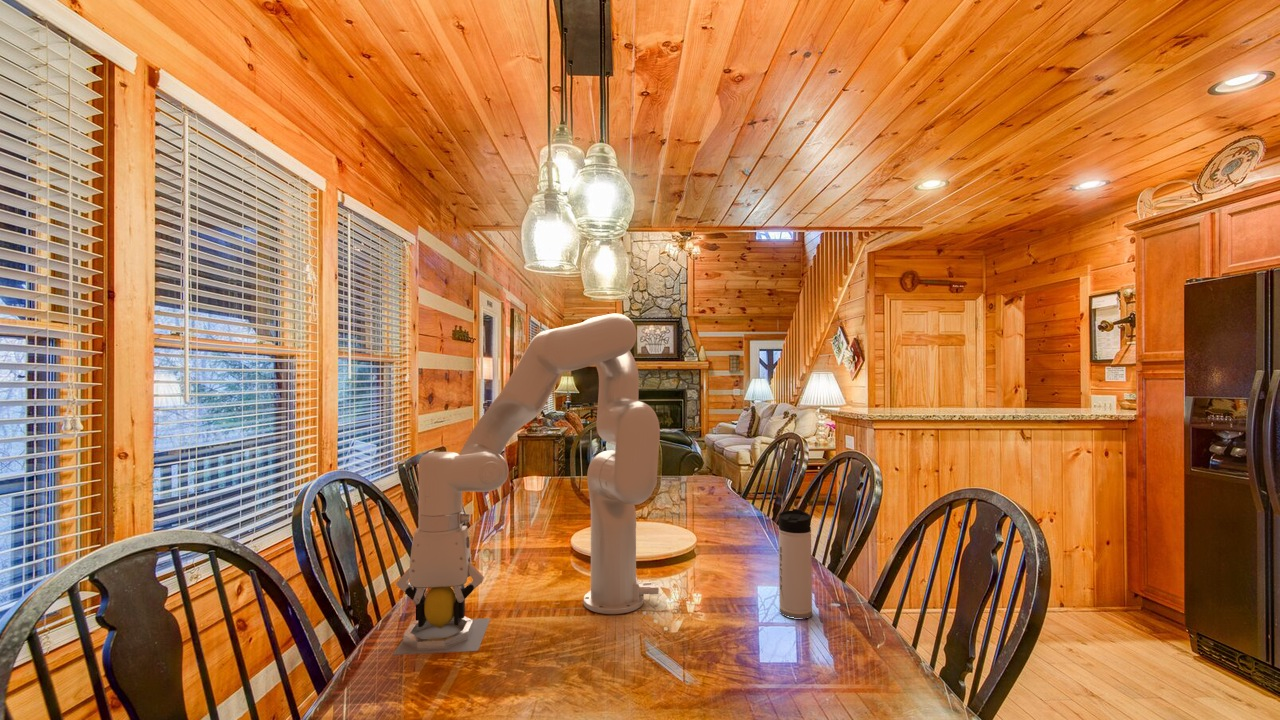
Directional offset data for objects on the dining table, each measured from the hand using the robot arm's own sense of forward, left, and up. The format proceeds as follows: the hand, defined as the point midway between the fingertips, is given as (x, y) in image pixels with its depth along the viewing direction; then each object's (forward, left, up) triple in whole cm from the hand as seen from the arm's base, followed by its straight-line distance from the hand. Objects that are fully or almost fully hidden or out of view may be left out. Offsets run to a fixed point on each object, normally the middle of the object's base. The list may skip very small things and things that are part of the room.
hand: (440, 622), depth 102 cm
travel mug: (-68, -5, -4) cm, 68 cm away
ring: (0, 0, -2) cm, 2 cm away
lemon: (0, 0, -1) cm, 1 cm away
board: (-1, 0, -3) cm, 3 cm away
